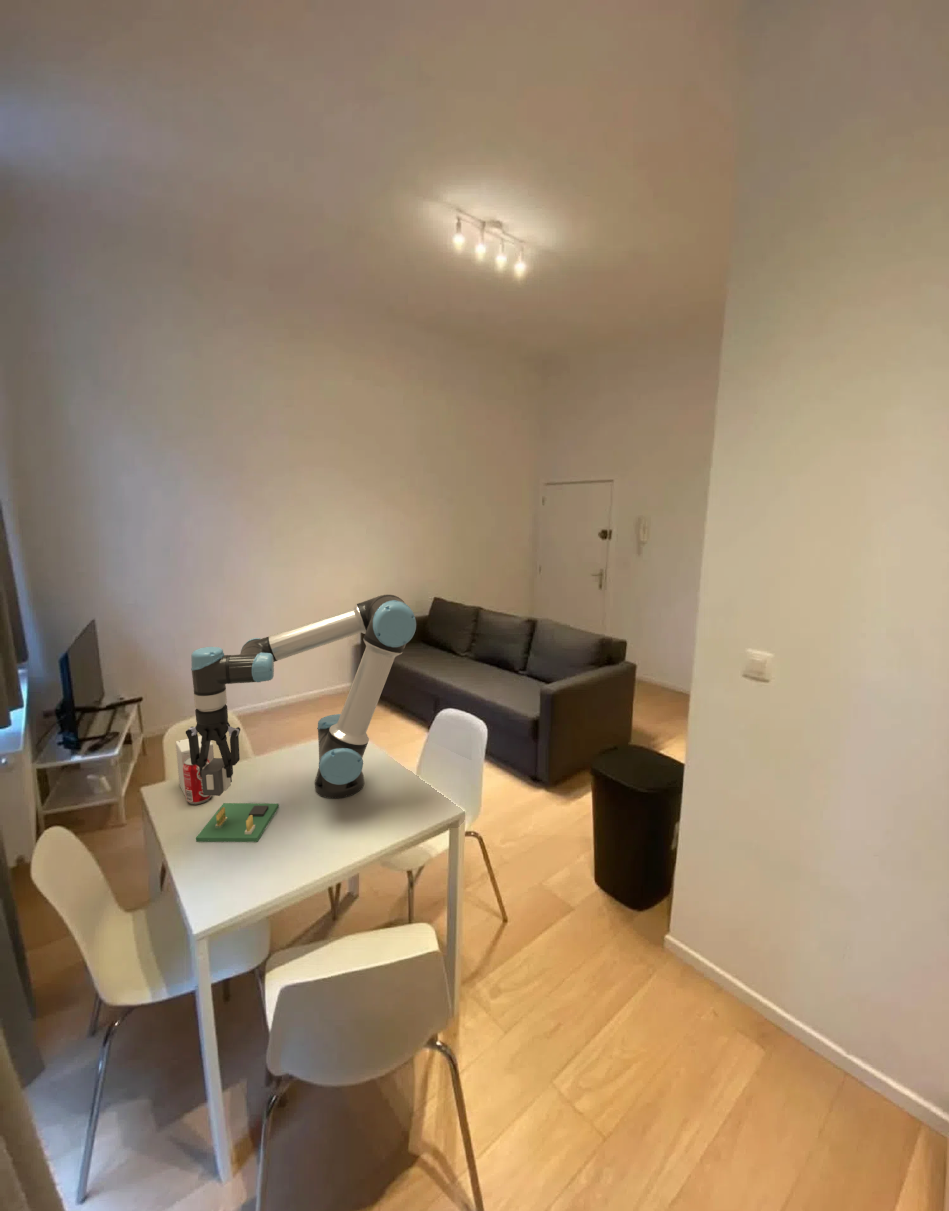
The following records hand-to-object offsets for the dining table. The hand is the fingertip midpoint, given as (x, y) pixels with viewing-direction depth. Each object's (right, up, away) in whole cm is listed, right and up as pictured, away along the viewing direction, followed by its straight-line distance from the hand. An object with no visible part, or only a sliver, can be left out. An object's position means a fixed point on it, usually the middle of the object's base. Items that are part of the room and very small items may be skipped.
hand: (217, 787), depth 141 cm
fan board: (+4, -12, +4) cm, 13 cm away
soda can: (-13, -9, +16) cm, 23 cm away
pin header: (0, -11, +2) cm, 11 cm away
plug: (0, 0, 0) cm, 0 cm away
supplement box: (-17, -8, +23) cm, 30 cm away
